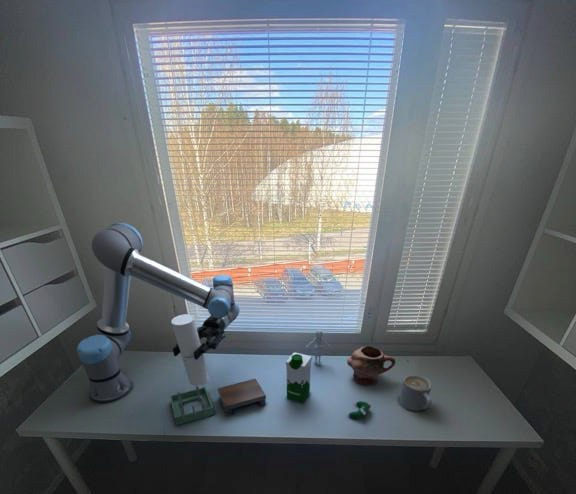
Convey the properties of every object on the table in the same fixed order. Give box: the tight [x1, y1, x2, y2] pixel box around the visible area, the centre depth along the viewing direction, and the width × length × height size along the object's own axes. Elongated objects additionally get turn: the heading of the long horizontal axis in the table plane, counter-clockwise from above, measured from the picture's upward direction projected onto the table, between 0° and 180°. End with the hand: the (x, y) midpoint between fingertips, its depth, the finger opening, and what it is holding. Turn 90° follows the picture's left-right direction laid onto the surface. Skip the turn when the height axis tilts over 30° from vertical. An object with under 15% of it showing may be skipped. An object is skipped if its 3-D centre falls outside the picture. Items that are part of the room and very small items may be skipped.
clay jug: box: [346, 345, 396, 386], centre depth 138 cm, size 20×12×14 cm, turn 92°
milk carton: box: [285, 352, 313, 404], centre depth 126 cm, size 9×9×20 cm
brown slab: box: [217, 378, 267, 416], centre depth 128 cm, size 12×16×5 cm
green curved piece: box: [348, 400, 372, 419], centre depth 122 cm, size 9×4×6 cm
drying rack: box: [169, 386, 215, 426], centre depth 124 cm, size 14×14×7 cm
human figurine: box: [305, 329, 332, 366], centre depth 146 cm, size 12×4×18 cm, turn 90°
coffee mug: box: [398, 374, 433, 412], centre depth 124 cm, size 13×10×10 cm
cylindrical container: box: [171, 313, 210, 387], centre depth 111 cm, size 7×7×25 cm
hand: (184, 354), depth 107 cm, fingers closed on cylindrical container, 7 cm apart
